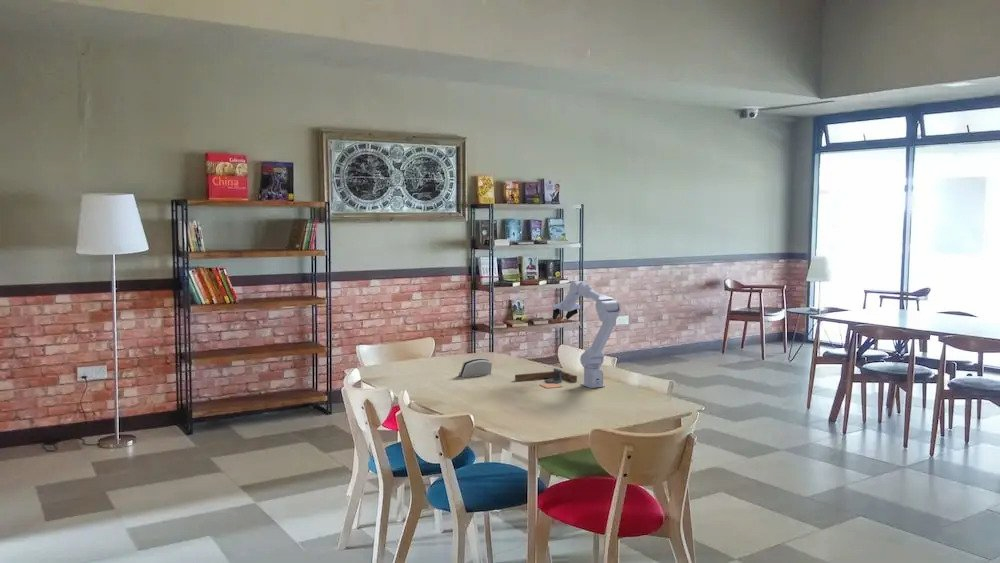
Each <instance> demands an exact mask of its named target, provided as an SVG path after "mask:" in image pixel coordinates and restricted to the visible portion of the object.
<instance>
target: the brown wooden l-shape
mask: <svg viewBox="0 0 1000 563" xmlns="http://www.w3.org/2000/svg"><path fill="white" fill-rule="evenodd" d="M544 378H548V379H550V378H554V370H552V371H541V372H532V373H531V372H530V373H520V374H514V381H515V382H525V381H526V380H527V381H535V380H534V379H538V380H545V379H544ZM562 379H564V380H566V381H569V382H572V383H577V382H578V376H577V375H576V374H573V373H570V372H567V371H565V370H562Z"/></svg>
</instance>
